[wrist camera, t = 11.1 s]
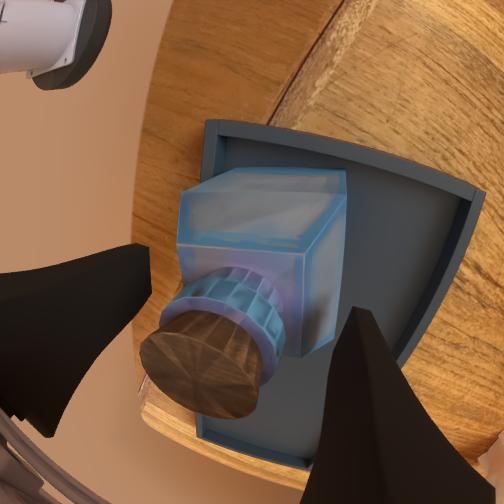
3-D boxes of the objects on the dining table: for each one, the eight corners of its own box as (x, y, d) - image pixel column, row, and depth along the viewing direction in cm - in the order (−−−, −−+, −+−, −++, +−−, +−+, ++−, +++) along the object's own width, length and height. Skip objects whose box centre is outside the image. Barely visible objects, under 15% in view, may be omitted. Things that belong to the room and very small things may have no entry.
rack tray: (203, 424, 33) (196, 437, 31) (222, 119, 16) (205, 119, 14) (314, 457, 29) (311, 471, 27) (471, 183, 13) (486, 192, 11)
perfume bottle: (244, 262, 19) (136, 410, 8) (236, 167, 16) (66, 255, 6) (340, 271, 17) (311, 460, 7) (345, 168, 14) (347, 288, 4)
